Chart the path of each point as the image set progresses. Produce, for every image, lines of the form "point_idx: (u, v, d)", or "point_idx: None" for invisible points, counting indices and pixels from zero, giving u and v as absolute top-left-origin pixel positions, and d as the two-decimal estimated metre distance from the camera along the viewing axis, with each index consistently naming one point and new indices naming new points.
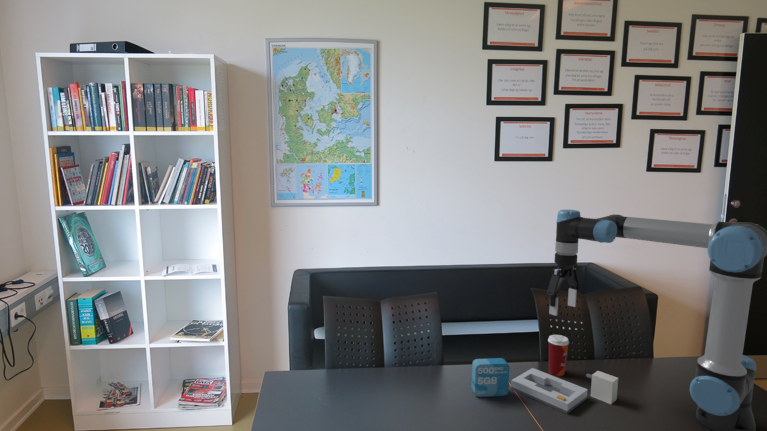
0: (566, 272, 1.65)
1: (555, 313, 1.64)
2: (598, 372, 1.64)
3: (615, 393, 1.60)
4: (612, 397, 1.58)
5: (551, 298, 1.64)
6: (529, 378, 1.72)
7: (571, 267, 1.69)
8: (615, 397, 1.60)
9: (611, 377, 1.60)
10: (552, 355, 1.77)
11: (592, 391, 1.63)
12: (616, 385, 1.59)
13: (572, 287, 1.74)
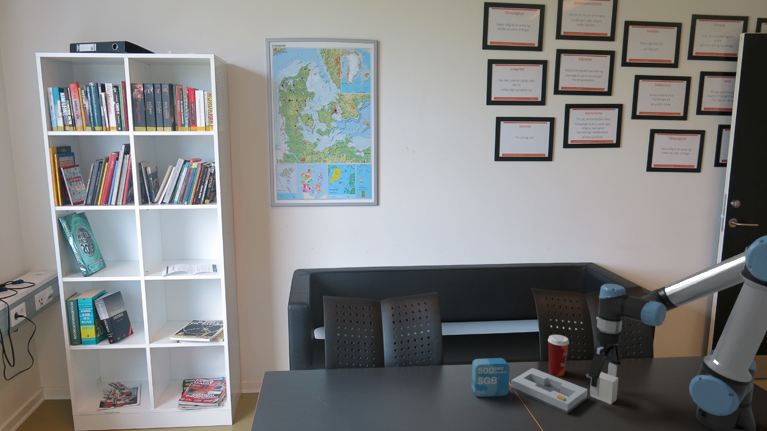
0: (608, 350, 1.57)
1: (596, 394, 1.56)
2: None
3: (615, 393, 1.60)
4: (612, 397, 1.58)
5: (593, 378, 1.56)
6: (529, 378, 1.72)
7: None
8: (615, 397, 1.60)
9: (611, 377, 1.60)
10: (552, 355, 1.77)
11: None
12: (616, 385, 1.59)
13: (612, 362, 1.66)
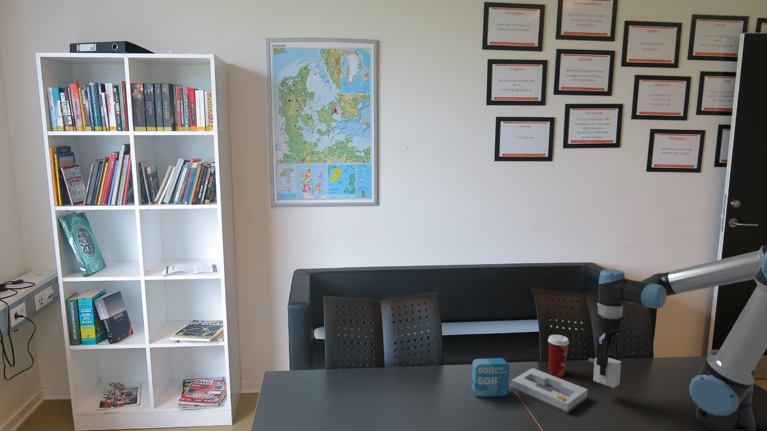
0: (611, 337, 1.56)
1: (605, 382, 1.58)
2: None
3: (618, 377, 1.58)
4: (615, 381, 1.57)
5: (601, 367, 1.57)
6: (529, 378, 1.72)
7: None
8: (618, 381, 1.59)
9: (613, 361, 1.59)
10: (552, 355, 1.77)
11: (595, 375, 1.61)
12: (619, 368, 1.58)
13: None
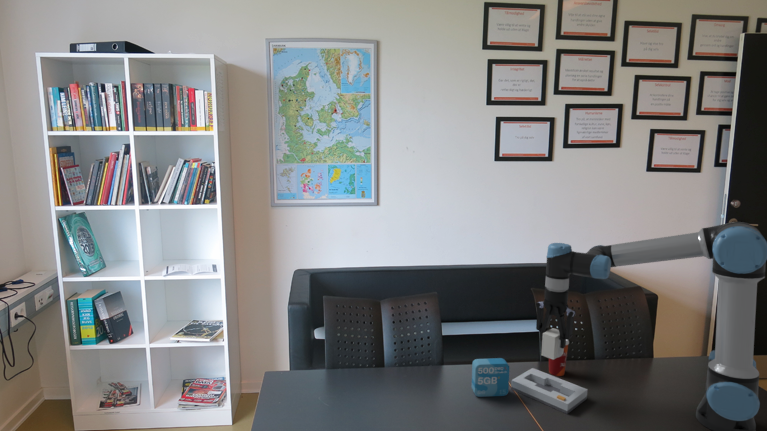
0: None
1: None
2: None
3: (550, 350, 1.59)
4: (543, 350, 1.61)
5: None
6: (529, 378, 1.72)
7: (561, 306, 1.57)
8: (551, 355, 1.59)
9: (552, 334, 1.60)
10: None
11: None
12: (551, 342, 1.58)
13: None
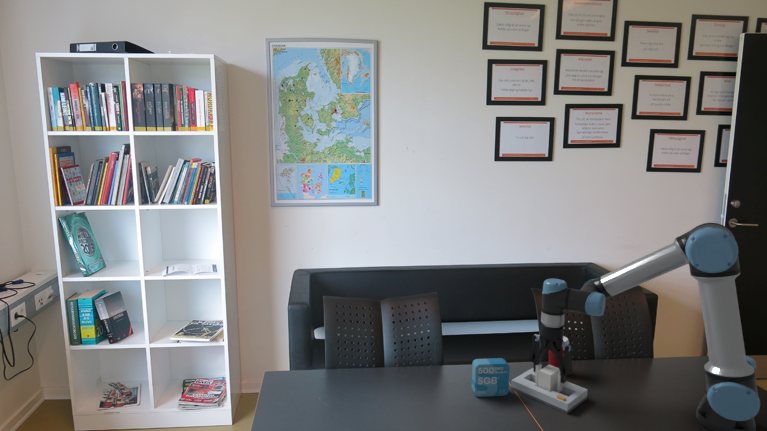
0: None
1: None
2: (556, 368, 1.64)
3: (546, 387, 1.61)
4: None
5: None
6: (529, 378, 1.72)
7: (556, 341, 1.59)
8: None
9: (548, 372, 1.62)
10: (552, 355, 1.77)
11: None
12: (547, 380, 1.60)
13: None
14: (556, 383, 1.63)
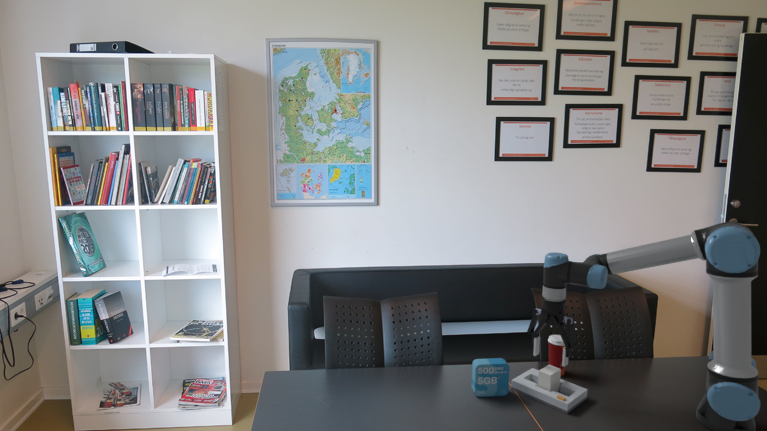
0: (544, 316, 1.61)
1: None
2: (556, 368, 1.64)
3: (546, 387, 1.61)
4: None
5: None
6: (529, 378, 1.72)
7: (558, 316, 1.58)
8: None
9: (548, 372, 1.62)
10: (552, 355, 1.77)
11: None
12: (547, 380, 1.60)
13: None
14: (556, 383, 1.63)
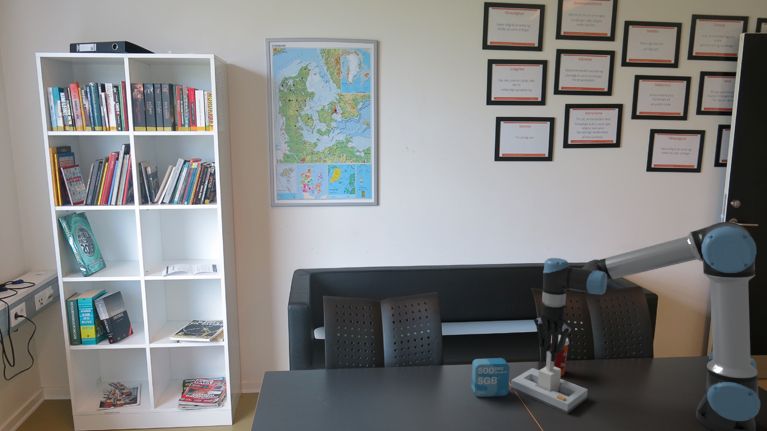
0: None
1: None
2: (556, 368, 1.64)
3: (546, 387, 1.61)
4: None
5: None
6: (529, 378, 1.72)
7: (558, 321, 1.58)
8: None
9: (548, 372, 1.62)
10: None
11: None
12: (547, 380, 1.60)
13: None
14: (556, 383, 1.63)
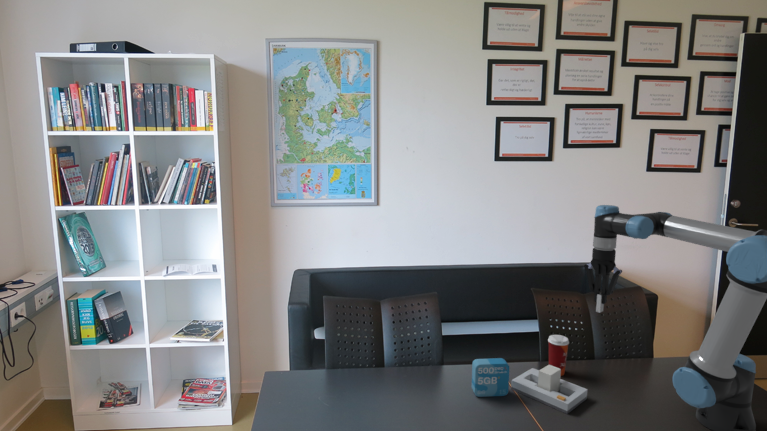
0: None
1: None
2: (556, 368, 1.64)
3: (546, 387, 1.61)
4: None
5: None
6: (529, 378, 1.72)
7: (609, 264, 1.66)
8: None
9: (548, 372, 1.62)
10: (552, 355, 1.77)
11: None
12: (547, 380, 1.60)
13: None
14: (556, 383, 1.63)
